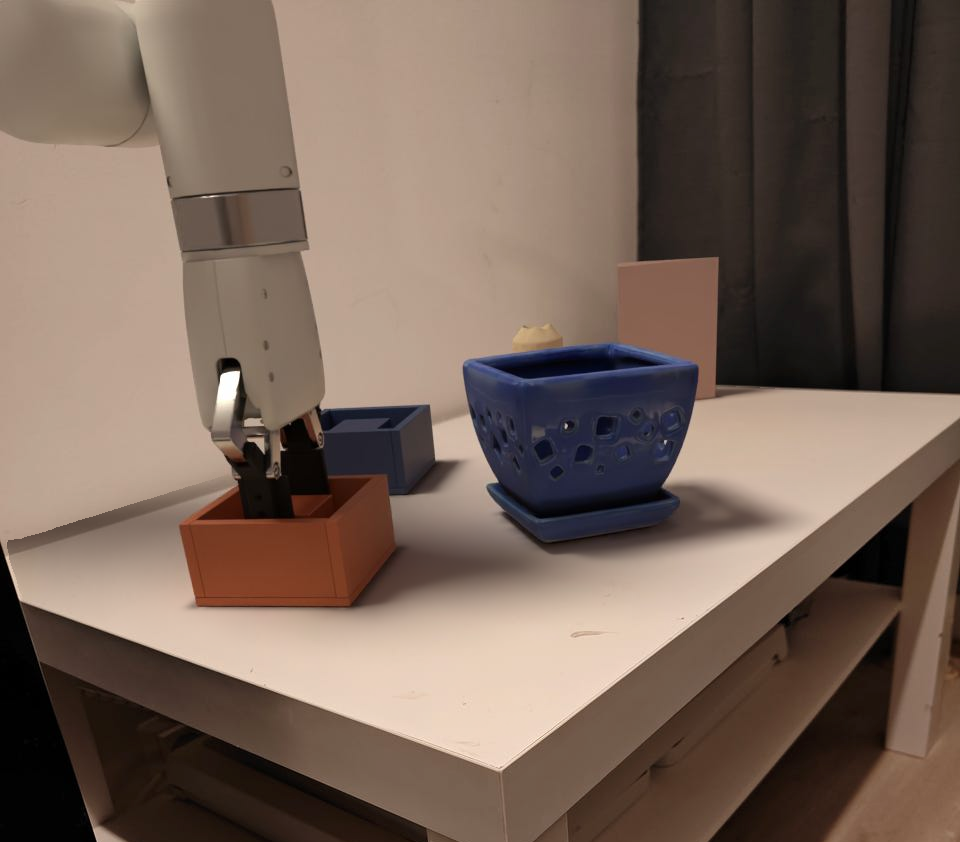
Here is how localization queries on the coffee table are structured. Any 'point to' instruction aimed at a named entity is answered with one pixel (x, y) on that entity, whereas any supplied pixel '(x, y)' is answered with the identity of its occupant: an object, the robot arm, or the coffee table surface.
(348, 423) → the navy block
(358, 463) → the navy bin
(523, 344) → the candle
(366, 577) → the terracotta bin
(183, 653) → the coffee table surface
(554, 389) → the flower pot
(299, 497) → the terracotta block
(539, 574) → the coffee table surface
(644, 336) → the greeting card
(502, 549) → the coffee table surface
